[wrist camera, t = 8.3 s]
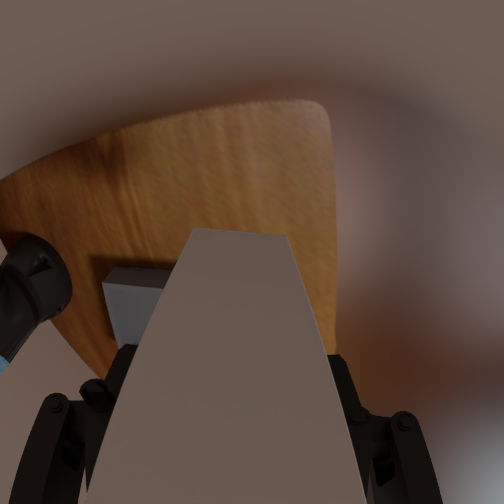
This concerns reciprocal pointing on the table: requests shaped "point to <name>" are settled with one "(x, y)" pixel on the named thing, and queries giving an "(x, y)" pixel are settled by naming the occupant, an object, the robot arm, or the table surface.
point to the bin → (132, 300)
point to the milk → (229, 389)
